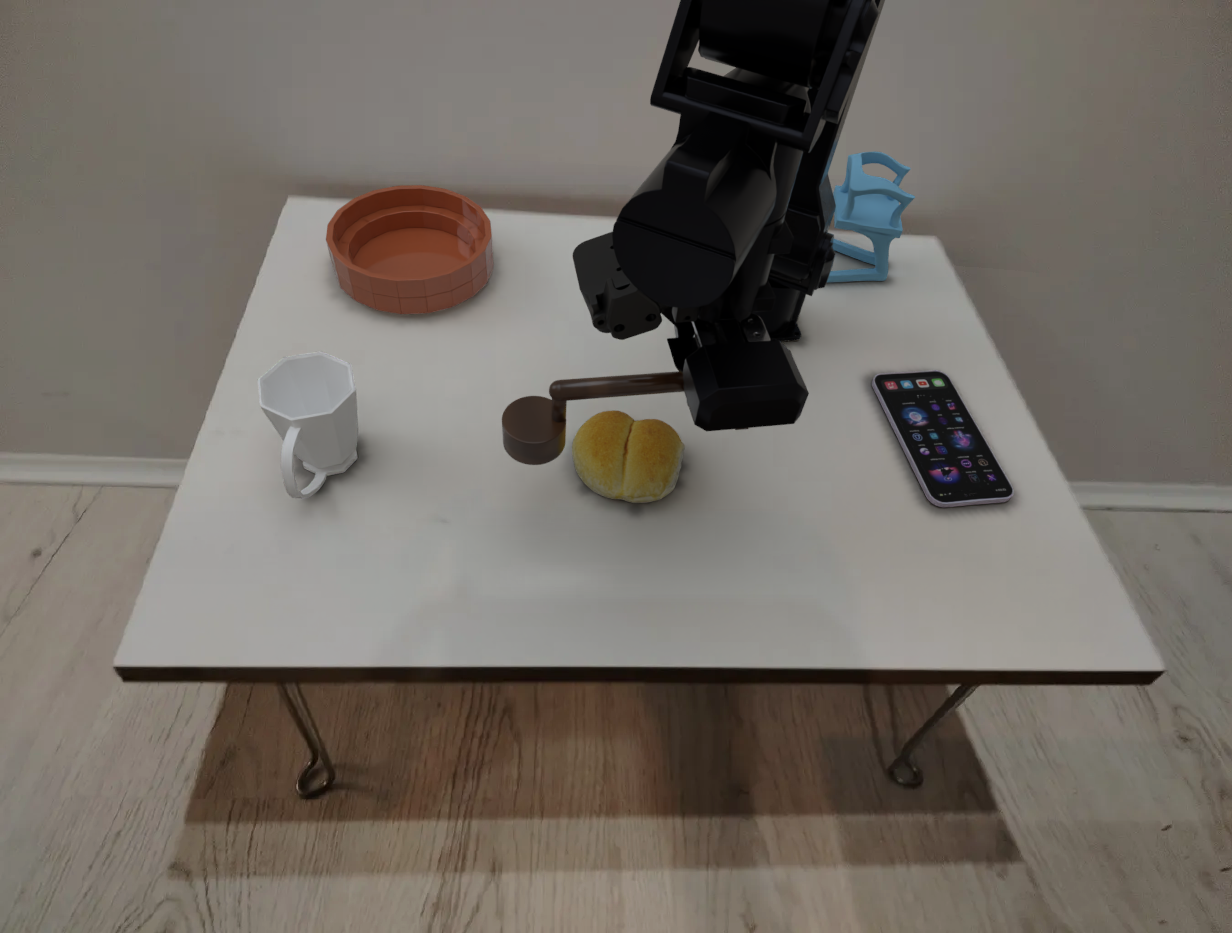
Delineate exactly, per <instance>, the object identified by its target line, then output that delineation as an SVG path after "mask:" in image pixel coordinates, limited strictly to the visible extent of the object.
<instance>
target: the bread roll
mask: <svg viewBox="0 0 1232 933" xmlns="http://www.w3.org/2000/svg"><path fill="white" fill-rule="evenodd" d="M571 444H572V446H571V456H572V461H573V465H574V469H575V471H576V474H577V475H578V477H579V479H580V480H581V481H582V483H583V484H584V485H585V486H586V487H588V489H590V491H592V492H594V493H595V494H597V495H600V496H601V497H604V498H607V499H611V500H622V501H626V502H629V503H633V504H642V503H651V502H656V501H660V500H662V499H663V498H665V497H667V495H669V494H671V492H673V491H674V490H675V487H676V485H677V482H678V479H679V476H680V470H681V469H682V461H683V459H684V453H685V452H684V451H685V448H686V444H684V442H683V441H682V439H681V436H680V435H679V434H678V432H677V431H676V429H674V428H673V427H672V426H671V425H670V424H668V423H666V422H665V421H663V420H661V419H657V418H644V419H639V420H638V419H637V420H635V419H634V418H633V417H632V416H631V415H629V414H627V413H626V412H624V411H621V410H606V411H605V410H604V411H601V412H598V413H596V414H594V415H592V416H591V417H590V418H589V419H587V420H586V421H585V422H584V423H583V424H582V425H581V426H580V427H579V428H578V430H577V432H576V433H575V435H574V438H573V440H572V443H571Z"/></svg>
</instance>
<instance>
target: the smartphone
mask: <svg viewBox="0 0 1232 933" xmlns="http://www.w3.org/2000/svg"><path fill="white" fill-rule="evenodd" d="M871 387H872V389H873V391H874V394H875V395H876V398H877V399H878V402H879V403H880V405H881V407H882V409H883V411H884V412H885V415H886V418H887V420H888V422H889V424H890V426H891V428H892V430H893V432H894V434H895V435H896V438H897V440H898V442H899V444H900V446H901V448H902V450H903V453H904V454H905V456H906V459H907V460H908V463H909V464H910V467H911V469H912V471H913V473H914V475H915V477H916V479H917V480H918V483H919V485H920V487H921V490H922V491H923V493H924V495H925V497H926V499H927V500H928V501H929V503H931V504H933V505H934V506H936V507H939V508H953V507H962V506H972V505H985V504H986V505H987V504H998V503H1005V502H1008V501H1009V500H1011V498H1012V497H1013V496H1014V494H1015V489H1014V487H1013V485H1012V483H1011V481H1010V479H1009V478H1008V475H1007V473H1005V470H1004V469H1003V468H1002V466H1001V464H1000V462H999V460H998V459H997V457H996V455H995V453H994V452H993V450H992V448H991V447H990V445H989V443H988V441H987V440H986V438H985V436H984V435H983V432H982V431H981V429H980V428H979V426H978V424H977V422H976V421H975V419H974V417H973V415H972V414H971V411H970V410H969V408H968V406H967V405H966V404H965V402H964V400H963V398H962V397H961V395H960V392H959V391H958V390H957V388H956V386H955V384H954V383H953V381H952V379H951V378H950V376H949V375H948V374H947V373H946V372H944V371H941V370H937V369H930V370H929V369H927V370H916V371H915V370H914V371H913V370H911V371H898V372H897V371H895V372H881V373H880V372H879V373H877V374H875V375H874V376H873V378H872V380H871Z"/></svg>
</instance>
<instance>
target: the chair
mask: <svg viewBox="0 0 1232 933" xmlns="http://www.w3.org/2000/svg"><path fill="white" fill-rule="evenodd" d="M870 164H879V165H882V166H884V167H886V168H888V169H889V170H891V171H892V172H893V173H894V174H896V176H895V178H894V179H893V181H891V180H889V179H887V178H885V177H880V176H875V175H869V174H867V173H865V171H864V169H863V166H865V165H870ZM845 169H846V170H845V178H844V180H843V183H842V184H841V185H837V184H836V185H835V186H834V188H833V191H832V192H833V196H834V200H835V204H836V208H835V212H834V215H833V218H834V219H833V221H834V222H833V223H834V224H833V225H834V229H839V230H844V231H853V232H854V233H857V234H860V235H862V236H864V237H866V238H868V239H869V241H871V243H872V247H873V251H870V250H867V249H864V248H861V247H858V246H856V245H853V244H851V243H848V242H845V241H842V240H839V239H837V238H834V240H833V250H834V252H838V253H840V254H843V255H846V256H848V257H850V258H854V259H856V260H857V261H858V260H859V261H861V262H864V263H867V264H870V265H873V266H874V267H868V268H867V267H866V268H852V269H851V268H850V269H838V270H831V272H830V275H829V277H828V280H827V283H843V282H844V283H845V282H865V281H867V282H868V281H869V282H870V281H874V282H877V281H878V282H881V281H882V282H884V281H886V280H887V279H888V275H889V256H890V255H889V254H890V245H891V243H892V241H893V240H894V239H901V236H902V233H903V232H904V230H903V223H902V218H901V216H902V213H903V212H904V211H905V209H906V208H907V207H908V206H909V205H910V204H911V203H912V202H913V201H914V200H915V199H916V196H915V195H914V194H910V193H908V192H907V191H904V190H903V189H902V188H900V185H901V183H902V182H903V179H904V177H906V175H907V174H908V173H909V172H910V171H911V170H912V168H911V167H910V166H908V165H904V164H902V163H900V162H899V161H898V160H896V159H895V158H893V157H892V156H890V155H889V154H887V153H885V152H882V151H877V150H875V151H864V152H863V151H862V152H858V153H853V154H852V153H851V154H848V156H847V161H846V168H845Z"/></svg>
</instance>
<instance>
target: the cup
mask: <svg viewBox="0 0 1232 933" xmlns="http://www.w3.org/2000/svg"><path fill="white" fill-rule="evenodd" d="M257 387H258V389H257V390H258V401H259V407H260V409H261V410H262V412H263V413H264V415H265V416H266V418H267V419H268V420H269V422H270V423H271V425H272V426H273V427H274V429H275V430H276V432H277V434H278V435H279V436H280V438H281V440H282V446H281V451H280V471H281V475H282V481H283V484H284V488H285V491H286V493H287V494H288V495H289V496H290V497H291V498H292V499H309V498H310V497H312V496H313V495H315V494H316V493H317V492H318V491H319V490H320V489H321V488H322V487H323V485H324V484H325V482H326V480H327V477H328V476H333V475H338V474H343V473H345V472H346V471H347V470H348V469H349V468H350V467H351V466H352V465H353V464H354V463H355V461H356V460H358V452H357V445H358V438H359V437H358V436H359V421H358V403H357V402H358V399H357V397H358V396H357V387H356V382H355V376H354V370H353V365H352V363H351V362H348V361H346V360H343V359H341V358H340V357H337V356H334V355H332V354H330V353H327V352H325V351H323V350H319V351H313V352H307V353H300V354H293V355H287V356H283V357H282V358H280V360H278V361H277V362H275V364H274V365H272V366H271V367H270V368H269V369H268V370H267V371H266V372H264V373H263V374H262V375H261V376H259V378H258V379H257ZM295 457H296V458H298V460H300V461H302V467H303V469H304V470H306V471H308V472H310V473H313V474H315V475H314V478H313V479H312V480H311V482H310V483H309V484H308V485H307V486H305V487H304V488H303V489H301V490H300V489H299V486H298V482H297V478H296V473H295Z"/></svg>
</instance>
